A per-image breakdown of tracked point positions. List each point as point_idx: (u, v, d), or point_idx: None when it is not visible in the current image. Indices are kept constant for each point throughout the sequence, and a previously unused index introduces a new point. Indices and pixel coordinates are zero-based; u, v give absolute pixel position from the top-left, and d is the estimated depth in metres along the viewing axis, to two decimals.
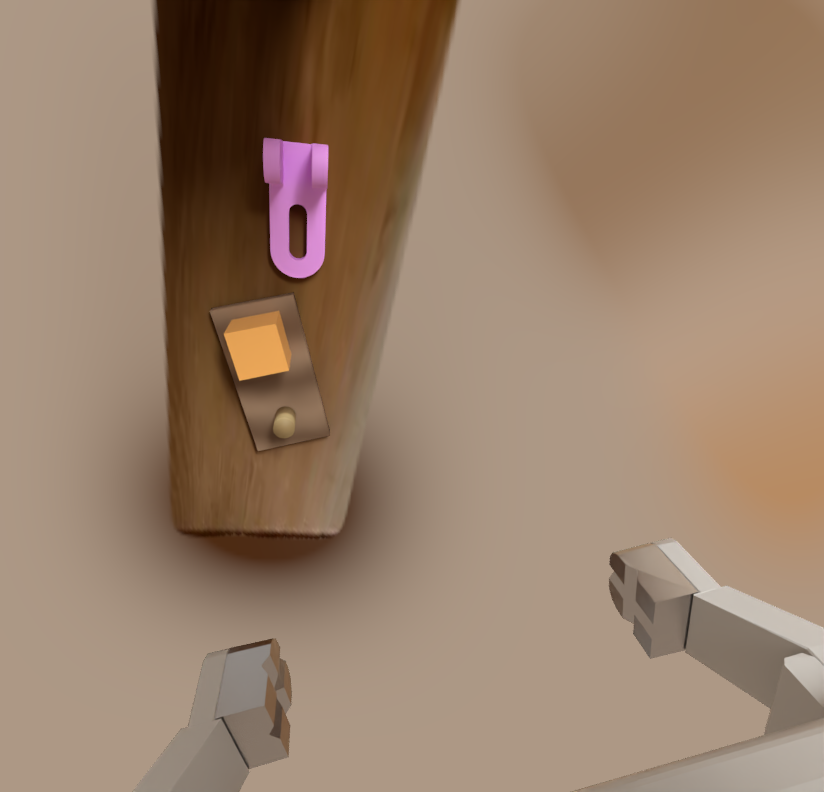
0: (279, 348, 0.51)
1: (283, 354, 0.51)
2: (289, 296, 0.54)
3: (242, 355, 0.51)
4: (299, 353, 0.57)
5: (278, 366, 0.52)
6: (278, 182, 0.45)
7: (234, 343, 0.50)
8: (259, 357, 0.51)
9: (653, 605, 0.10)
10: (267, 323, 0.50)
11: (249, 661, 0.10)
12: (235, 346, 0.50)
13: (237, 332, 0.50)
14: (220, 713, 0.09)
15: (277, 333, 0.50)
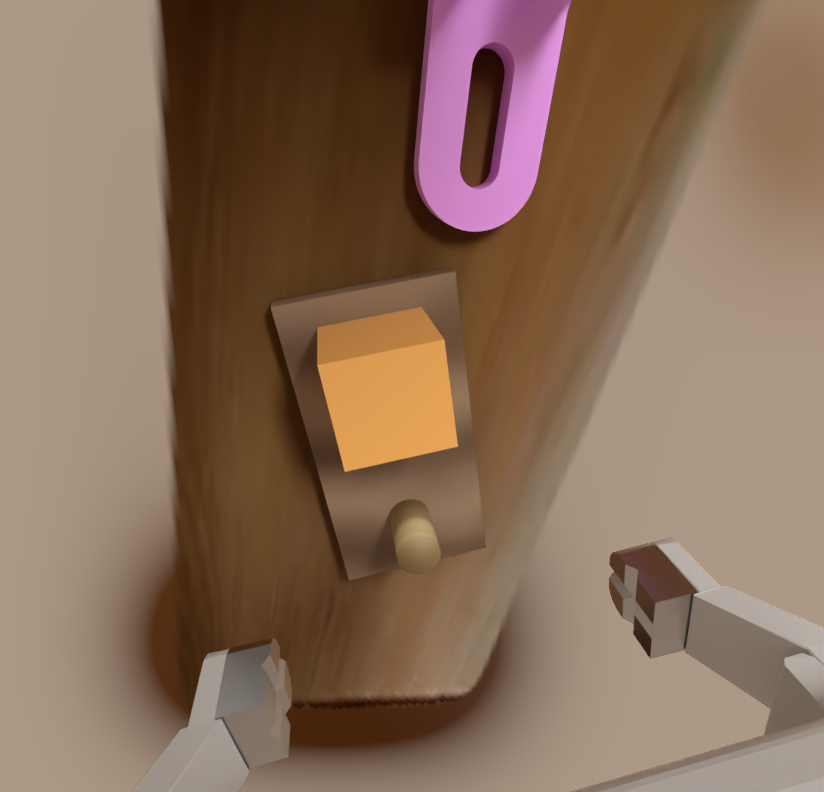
0: (444, 397, 0.21)
1: (451, 411, 0.22)
2: (447, 275, 0.24)
3: (357, 416, 0.21)
4: None
5: (436, 438, 0.22)
6: None
7: (341, 387, 0.20)
8: (396, 420, 0.21)
9: (653, 605, 0.10)
10: (419, 338, 0.21)
11: (249, 661, 0.10)
12: (343, 394, 0.20)
13: (351, 361, 0.20)
14: (220, 713, 0.09)
15: (444, 362, 0.21)
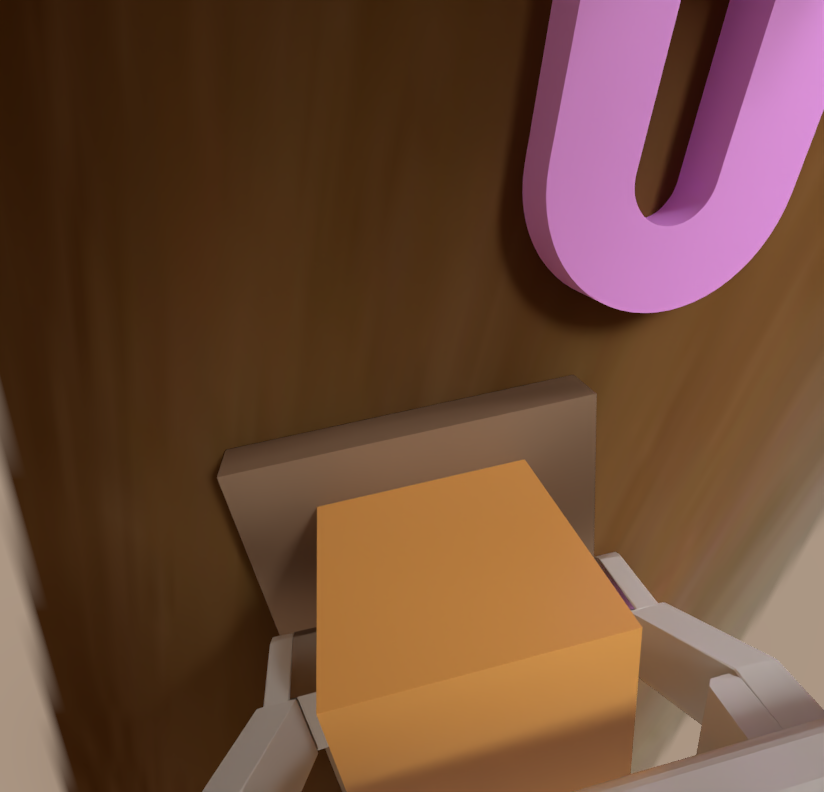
0: (618, 730, 0.09)
1: (626, 747, 0.09)
2: (579, 400, 0.12)
3: (413, 787, 0.09)
4: None
5: None
6: None
7: (377, 746, 0.08)
8: (505, 780, 0.09)
9: None
10: (568, 605, 0.08)
11: (316, 644, 0.10)
12: (382, 756, 0.08)
13: (405, 696, 0.08)
14: (294, 694, 0.10)
15: (632, 669, 0.08)
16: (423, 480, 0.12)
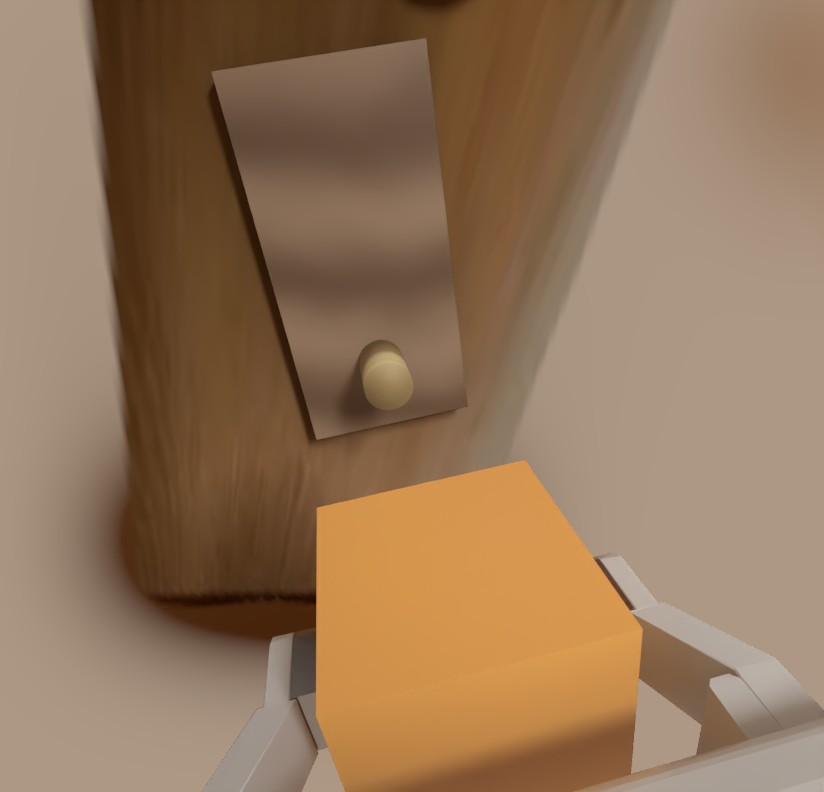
0: (618, 732, 0.09)
1: (626, 749, 0.09)
2: (416, 42, 0.21)
3: (413, 789, 0.09)
4: (424, 208, 0.24)
5: None
6: None
7: (377, 748, 0.08)
8: (505, 782, 0.09)
9: None
10: (568, 606, 0.08)
11: None
12: (382, 758, 0.08)
13: (405, 698, 0.08)
14: (294, 693, 0.10)
15: (632, 670, 0.08)
16: (329, 91, 0.21)
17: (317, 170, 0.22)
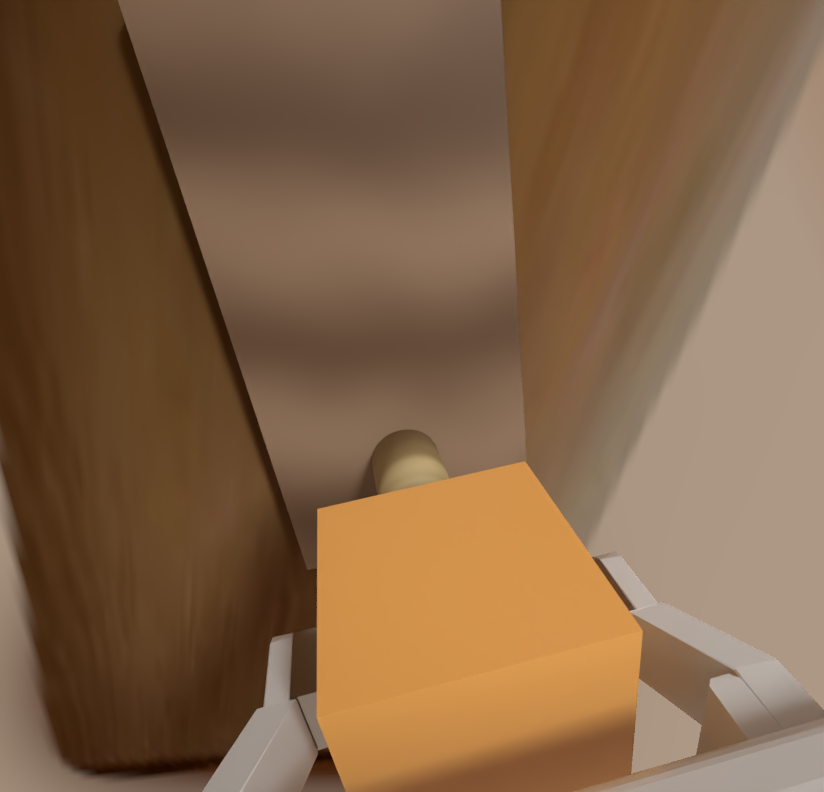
0: (618, 733, 0.09)
1: (626, 750, 0.09)
2: None
3: (413, 790, 0.09)
4: (480, 231, 0.15)
5: None
6: None
7: (377, 749, 0.08)
8: (505, 783, 0.09)
9: None
10: (568, 608, 0.08)
11: (316, 644, 0.10)
12: (383, 760, 0.08)
13: (405, 699, 0.08)
14: (294, 694, 0.10)
15: (632, 672, 0.08)
16: (326, 30, 0.12)
17: (306, 167, 0.13)
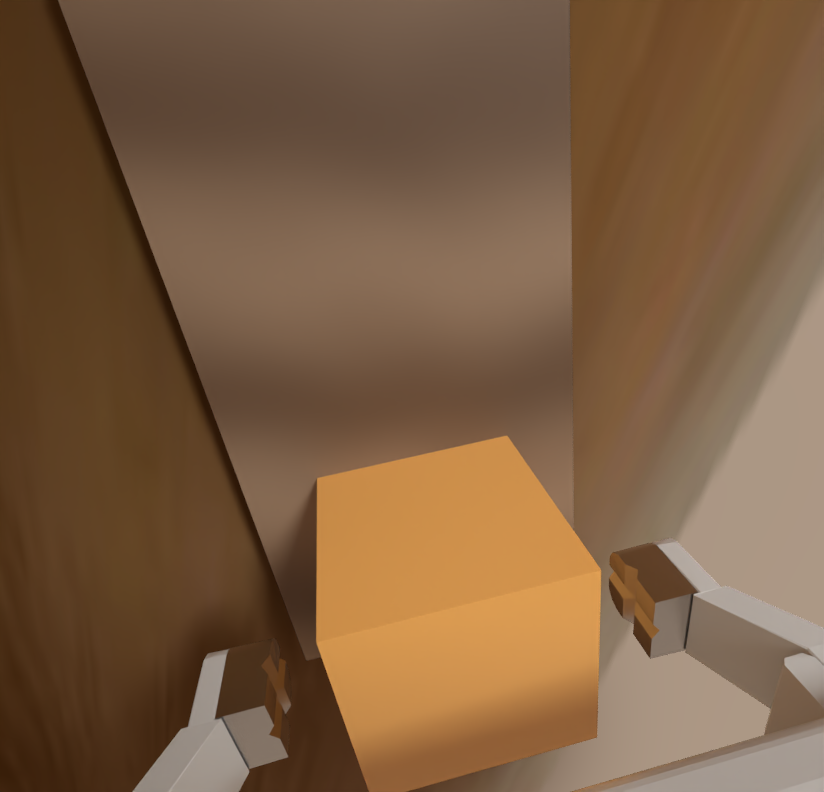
0: (584, 668, 0.10)
1: (593, 685, 0.10)
2: None
3: (402, 716, 0.10)
4: (529, 254, 0.11)
5: (557, 730, 0.11)
6: None
7: (369, 675, 0.09)
8: (484, 713, 0.10)
9: (653, 605, 0.10)
10: (538, 554, 0.10)
11: (249, 661, 0.10)
12: (374, 685, 0.09)
13: (393, 628, 0.09)
14: (220, 713, 0.09)
15: (594, 609, 0.09)
16: None
17: (304, 173, 0.10)
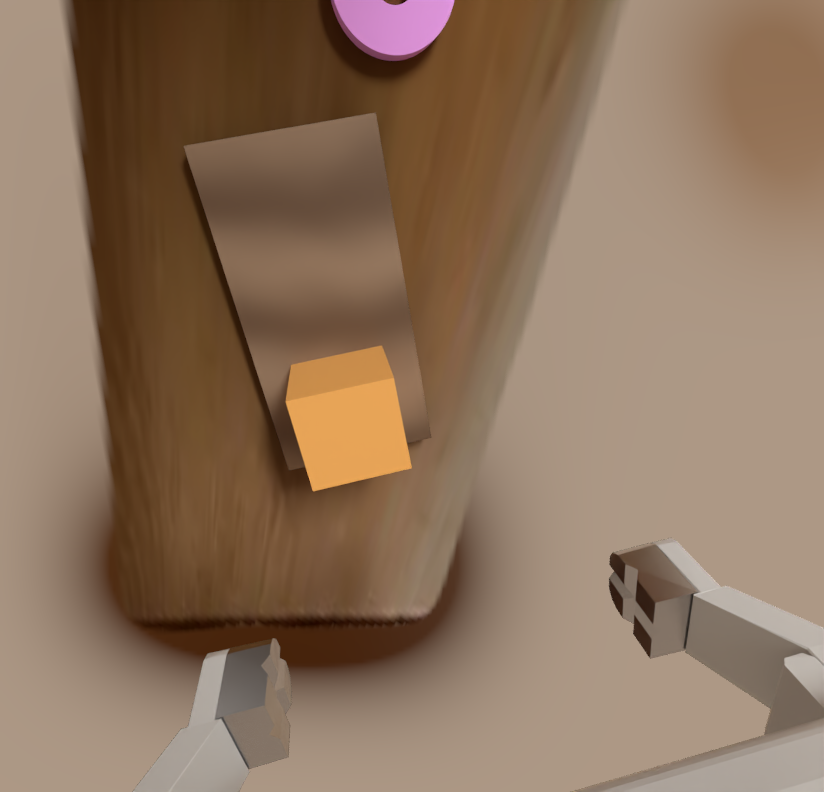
0: (397, 426, 0.25)
1: (403, 437, 0.25)
2: (367, 116, 0.23)
3: (321, 443, 0.24)
4: (381, 259, 0.26)
5: (391, 461, 0.25)
6: None
7: (306, 420, 0.24)
8: (356, 446, 0.25)
9: (653, 605, 0.10)
10: (374, 376, 0.24)
11: (249, 661, 0.10)
12: (309, 425, 0.24)
13: (314, 397, 0.23)
14: (220, 713, 0.09)
15: (395, 397, 0.24)
16: (289, 159, 0.24)
17: (281, 227, 0.25)
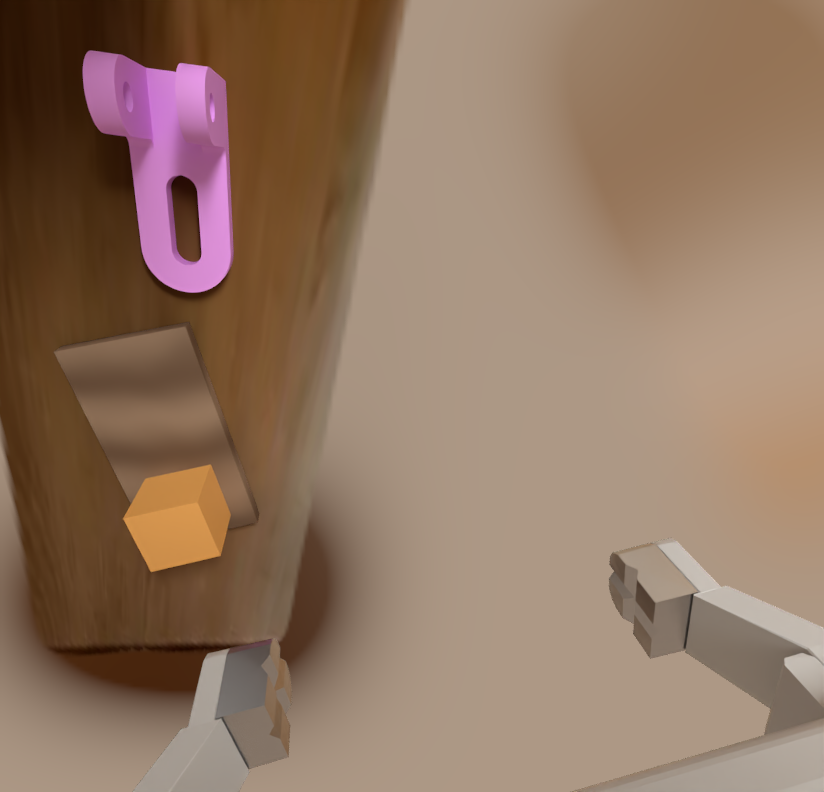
0: (205, 531, 0.37)
1: (211, 537, 0.37)
2: (179, 328, 0.35)
3: (152, 542, 0.36)
4: (202, 411, 0.38)
5: (205, 552, 0.37)
6: (123, 131, 0.26)
7: (139, 529, 0.36)
8: (178, 543, 0.37)
9: (653, 605, 0.10)
10: (187, 498, 0.36)
11: (249, 661, 0.10)
12: (142, 532, 0.36)
13: (143, 515, 0.35)
14: (220, 713, 0.09)
15: (200, 513, 0.36)
16: (128, 356, 0.35)
17: (127, 395, 0.37)
